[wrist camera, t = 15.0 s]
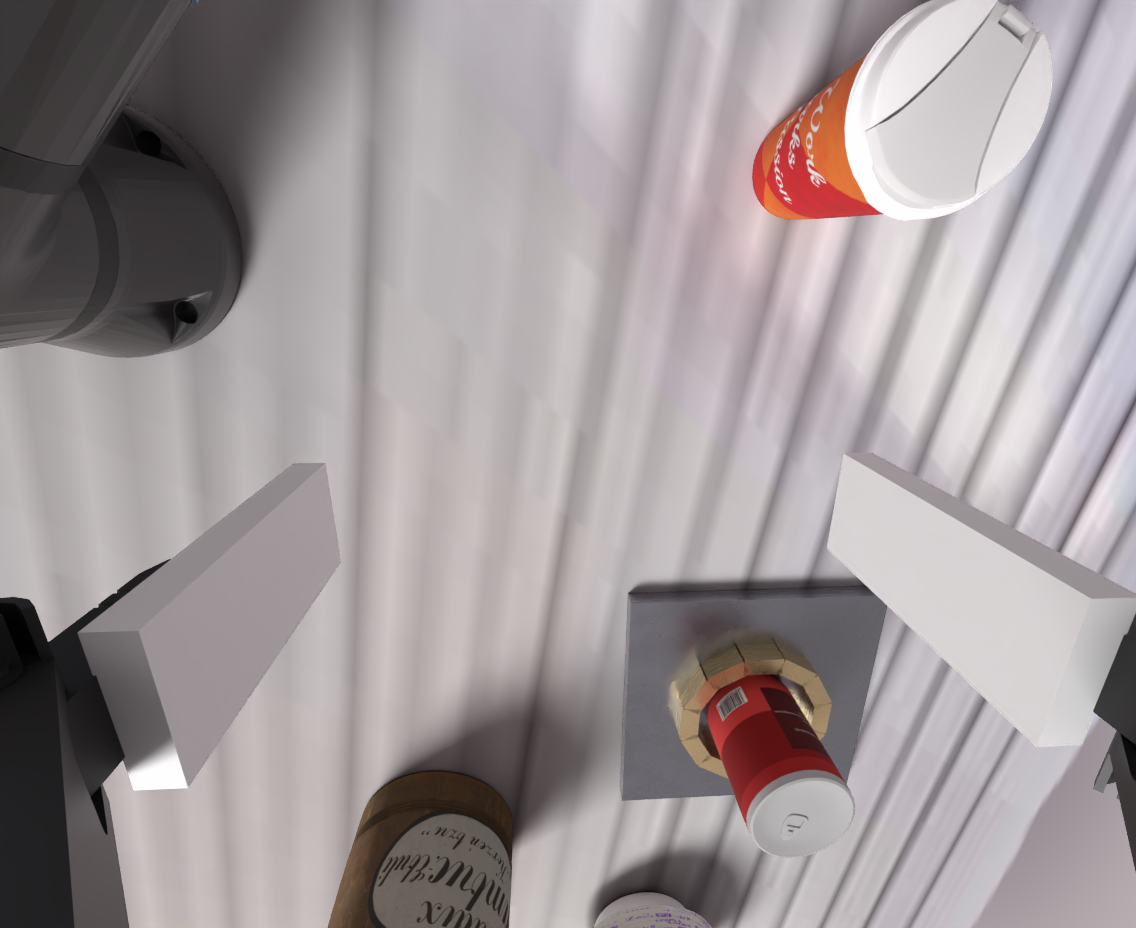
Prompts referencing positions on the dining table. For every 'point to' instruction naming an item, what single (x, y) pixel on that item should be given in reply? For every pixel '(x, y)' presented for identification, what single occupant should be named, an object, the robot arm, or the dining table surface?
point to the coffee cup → (914, 119)
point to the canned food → (778, 768)
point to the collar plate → (716, 629)
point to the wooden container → (429, 857)
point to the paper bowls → (648, 913)
